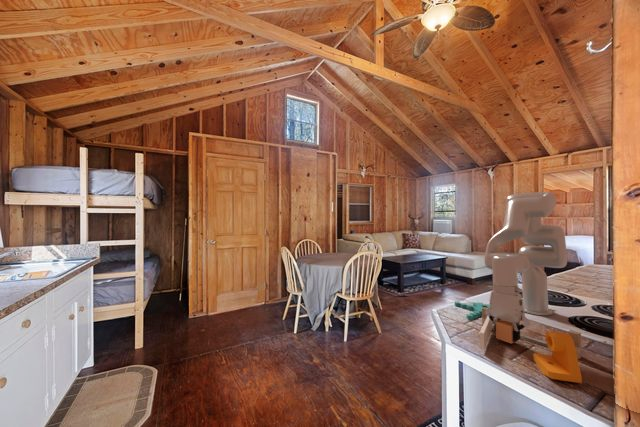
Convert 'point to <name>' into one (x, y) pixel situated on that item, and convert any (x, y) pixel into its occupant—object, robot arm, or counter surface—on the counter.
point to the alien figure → (476, 308)
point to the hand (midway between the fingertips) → (507, 337)
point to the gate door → (485, 332)
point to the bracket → (559, 358)
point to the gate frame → (575, 336)
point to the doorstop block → (504, 331)
